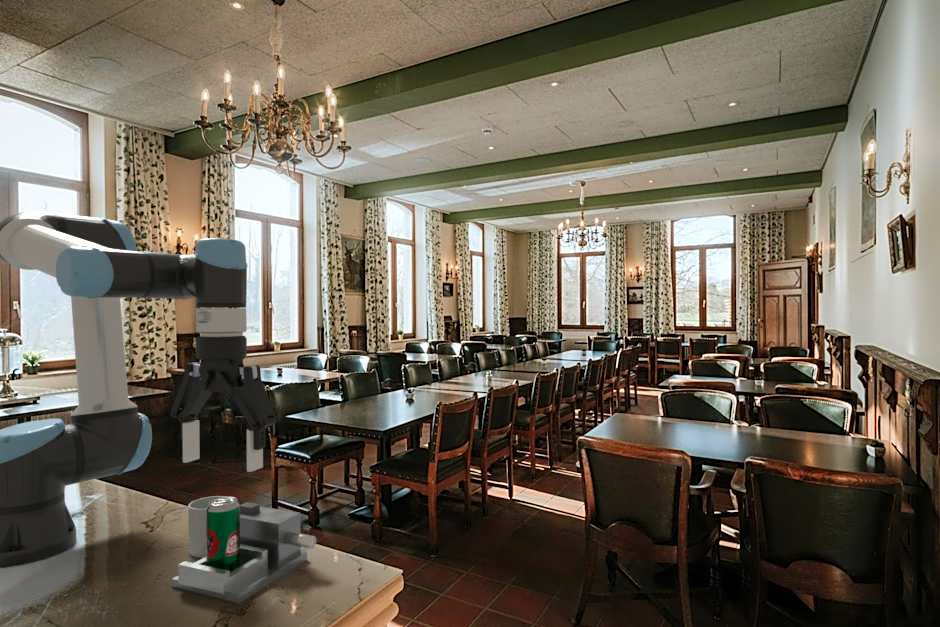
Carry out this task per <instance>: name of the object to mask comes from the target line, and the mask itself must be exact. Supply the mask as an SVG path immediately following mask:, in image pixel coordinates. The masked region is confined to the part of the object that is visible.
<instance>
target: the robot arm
mask: <svg viewBox="0 0 940 627" xmlns="http://www.w3.org/2000/svg"><path fill="white" fill-rule="evenodd" d="M194 250H195V251H194V253H193V254H177V253H168V252H167V253H165V252H155V251H138V249H137V244H136V239H135V237H134V235H133V233H132V231H131V230H130V229H129V227H127V226H126V225H125V224H124V223H122V222H121V221H118V220H112V219H108V218H104V217H100V216H98V217H93V216H92V217H91V216H83V215H75V214H67V213H58V212H50V211H42V210H33V211H32V210H31V211H23V212H19V213H15V214H12V215H10V216H7V217H5V218H3V220H2V219H1V221H0V259H1V260H2V261H3V262H5V263H6V264H8V265H11V266H13V267H15V268H17V269H21V270H26V271H30V270H31V271H32V270H33V271H34V270H35V271H38V272H41V273H44V274H46V275H49V276H51V277H53V278H54V279H56V283H57V285H58V287H59V289H60V291H61V292H62V294H64V295H66V296H69V297H70V299H71V300H70V303H71V316H72V328H73V340H74V341H73V342H74V344H73V345H74V354H75V356H74V357H75V358H74V359H75V368H76V370H75V371H76V383H77V385H76V386H77V398H78V405H77V407H75V409H74V410H73V411H72V412H71V413H70V423H69V424H66V423H65V422H64V420H63V419H61V418H45V419H44V418H43V419H40V420H30V421H26V422H22V423H17V424H14V425H10V426H7V427H4V428H1V429H0V569H3V568H4V569H5V568H12V567H18V566H23V565H29V564H31V563H35V562H39V561H42V560H45V559H49V558H51V557H54V556H56V555H59V554H62V553H63V552H65V551H66V550H69V549H70V548H72V546H74V545H75V544H76V542H77V527H76V525H75V523H74V520H73V518H72V516H71V513H70V511H69V509H68V506H67V504H66V494H65V491H66V490H65V489H66V486H67V487H68V486H69V485H74V484H79V483H84V482H88V481H92V480H96V479H101V478H105V477H110V476H119V475H122V474H123V473H126V472H129V471H130V472H131V471H134V470H136V469H138V468H140V467H141V466H142V465H143V464H144V462H145V461H146V460H147V457H149V454H150V451H151V448H152V443H153V442H152V441H153V431H152V430H153V429H152V424H151V423H150V419H149V418H148V416H146V414H144V413H140V412H138V410H139V409H138V405H137V403H134V402H133V401H131V400H130V398H129V393H128V392H129V391H128V378H127V377H128V376H127V367H126V365H127V364H126V354H125V344H124V343H125V340H124V327H123V316H122V304H121V298H123V299H124V298H125V299H126V298H132V299H133V298H136V299H137V298H138V299H171V300H182V301H185V300H189V299H192V300H193V299H195V313H196V314H195V317H196V318H195V324H196V326H195V332H196V333H197V334H200V336H197V338H195V357H196V359H197V360H200V361H199V362H189V363H185V365H184V368H183V370H184V372H183V378H182V380H181V383H180V385H179V388H178V390H177V394H176V397H175V399H174V402H173V404H172V407H171V410H170V412H169V414H170V415H169V416H171V418H176V419H178V422H179V423H180V438H181V439H180V440H181V441H182V463H185V464H186V463H190V462H194V461H197V460H199V459H201V457H200V456H201V453H200V448H201V447H200V444H201V443H200V442H201V441H200V440H201V439H200V420H198V419H199V417H198V415H199V413H200V412H201V410H202V409H203V407H204V406H205V404H206V403H207V401H208V399H210V396H211V395H212V394H213V393H217V392H218V393H220V394H226V395H228V396H229V397H231V398H232V400H233V401H234V403H235V404H236V406H237V408H238V409H239V411H240V413H241V414H242V416H243V417H244V419H245V420H246V422H247V424H248V425H249V428H248V429H246V472H248V473H251V472H255V471H257V470H260V469H263V468H264V449H265V448H266V445H267V443H266V442H267V438H266V436H267V427H269V426H272V425H275V424H277V422H278V420H277V416H276V414H275V413H276V412H275V411H274V408H273V406H272V403H271V400H270V397H269V395H268V393H267V391H266V388H265V385H264V383H263V379H262V372H261V371H262V370H261V367H260V365H258V364H255V365H248V366H245V365H244V359H245V358H246V357H247V352H248V350H247V349H248V348H247V345H248V343H247V339H248V338H247V337H246V335H244V333H246V332H247V331H248V330H247V329H248V328H247V324H248V323H247V294H248V293H247V285H248V284H247V283H248V281H247V280H248V269H247V268H248V263H247V255H246V254H247V252H246V245H245V244H244V242H242V241H240V240H237V239H232V238H230V239H229V238H217V237H213V238H211V237H209V238H208V237H206V238H200V239H198V241H197V242H196V244H195V249H194Z"/></svg>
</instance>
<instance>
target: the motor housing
mask: <svg viewBox="0 0 940 627" xmlns="http://www.w3.org/2000/svg"><path fill="white" fill-rule="evenodd" d="M239 505H240V567H239V568H237V569H235V570H234V571H232V572H230V571H228V570H223V569H218V568H214V567H209V566H206V557H201V559H199V560H197V561H194V562H190V561H187V560H185V561H183V562H179V563H178V564H177V567H178V568H177V574H178V575H177V576H174V577H173V578H171V587H172V588H176V589H180V590H183V591H187V592H192V593H196V594H201V595H203V596H208V597H211V598H217V599H219V600H224V601H229V602H232V603H236V604H241V603H242V602H244V601H245V600H247V599H249V598H250V597H252V596H253V595H255V594H256V593H258V592H259V591H261V590H264V588H266V587H267V586H269V585H271V584H272V583H274V582H276V581H277V580H278V579H280V578H282V577H284V576H285V575H286V574H288V573H290V572H291V571H292V569H293V570H294V569H296V568H297V567H299V566H300V565H302V564H304V562H307V561H308V551H306V550H302V548H306V549H314V548H315V546H316V545H317V537H316V536H315V535H310V534H304V533H301V512H298V511H293V510H287V509H279V508H278V509H277V508H273V507H265V506H261V505H260V503H254V502H247V501H246V502H244V503H242V504H239ZM270 583H271V584H270Z"/></svg>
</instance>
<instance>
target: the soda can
mask: <svg viewBox="0 0 940 627" xmlns="http://www.w3.org/2000/svg"><path fill="white" fill-rule="evenodd" d="M240 505H241V504H240V503H239V502H238V497H234V496H225V497H221V498H216V499H213V500H211V501H210V502H209V506H208V507H207V509H206V566H209V567H214V568H218V569H223V570H228V571H230V572H232V571H234V570H235V569H237V568H239V567H240Z"/></svg>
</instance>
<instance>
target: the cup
mask: <svg viewBox="0 0 940 627" xmlns="http://www.w3.org/2000/svg"><path fill="white" fill-rule="evenodd" d="M221 497H226V496H223V495H214V496H206V497H201V498H198V499H195V500H192V501H191V502H190V503H189V504H187V505H188V506H187V507H188V508H187V509H188V510H187V511H188V513H187V514H188V515H187V517H188V520H187V521H188V553H189V555H190V556H192V557H194V558H204V557H206V509H207V507H208V506H209V502H210V501H211V500H213V499H216V498H221Z"/></svg>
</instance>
